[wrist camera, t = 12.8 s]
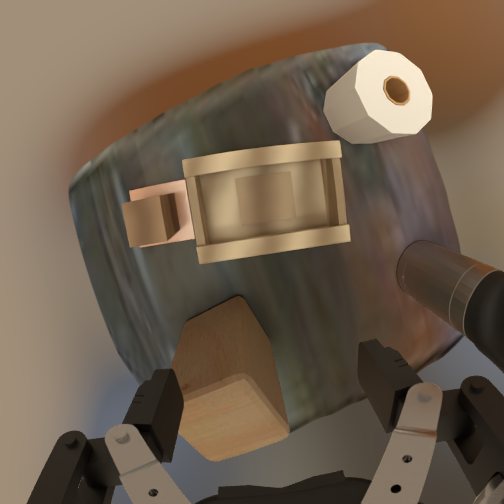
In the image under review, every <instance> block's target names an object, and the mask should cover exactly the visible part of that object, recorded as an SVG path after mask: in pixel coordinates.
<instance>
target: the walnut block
mask: <svg viewBox="0 0 504 504" xmlns="http://www.w3.org/2000/svg"><path fill="white" fill-rule="evenodd" d="M122 209H123V214H124V220H125V225H126V230H127V235H128V240H129V245H130V247H136V246H142V245H148V244H154V243H160V242H167V241H168V240H169V239H171V238H172V237H173V236H174V235H175V234H176V233H177V232H178V231H179V230H180V225H179V219H178V213H177V207H176V201H175V194H174V193H170V194H165V195H160V196H155V197H150V198H145V199H140V200H135V201H131V202H126V203H122Z"/></svg>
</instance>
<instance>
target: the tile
mask: <svg viewBox="0 0 504 504" xmlns="http://www.w3.org/2000/svg"><path fill="white" fill-rule="evenodd" d="M129 192H130V198H131V201H135V200H140V199H145V198H150V197H155V196H160V195H165V194H170V193H174V194H175V201H176V207H177V213H178V219H179V225H180V230H179V231H178V232H177V233H176V234H175V235H174V236H173V237H172V238H171V239H169V240H168V241H167V242H160V243H154V244H148V245H142V246H140V248H141V247H147V246H152V245H158V244H164V243H170V242H176V241H183V240H189V239H195V232H194V226H193V221H192V215H191V209H190V203H189V197H188V190H187V184H186V179H185V180H180V181H174V182H169V183H164V184H159V185H154V186H150V187H145V188H140V189H136V190H131V191H129Z"/></svg>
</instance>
